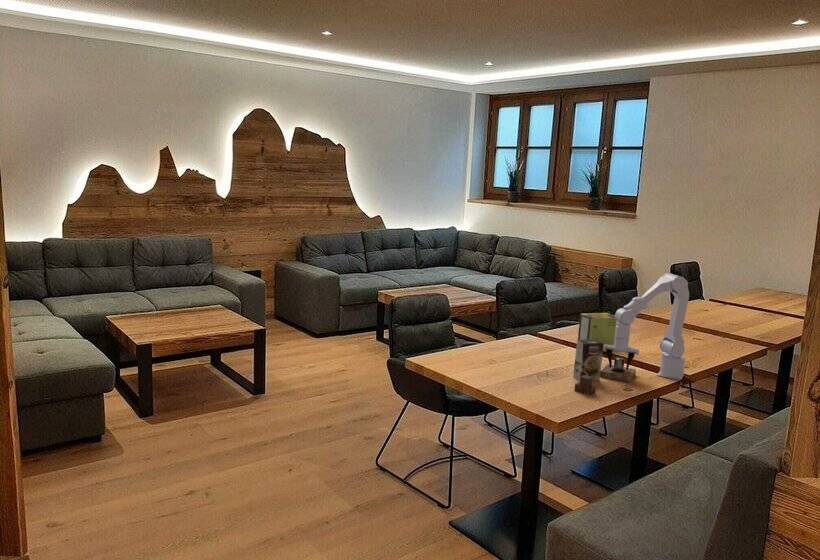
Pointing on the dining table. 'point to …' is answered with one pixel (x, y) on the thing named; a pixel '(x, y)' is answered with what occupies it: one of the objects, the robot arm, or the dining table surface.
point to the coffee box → (588, 359)
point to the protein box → (597, 327)
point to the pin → (619, 364)
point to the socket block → (618, 374)
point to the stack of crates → (585, 385)
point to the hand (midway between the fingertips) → (618, 368)
